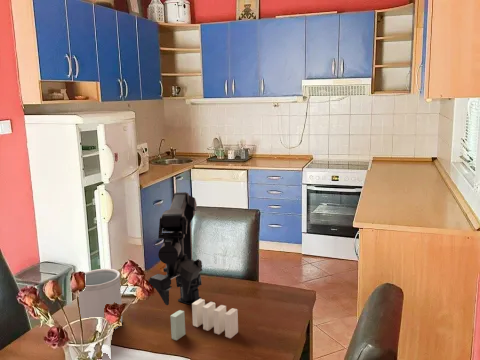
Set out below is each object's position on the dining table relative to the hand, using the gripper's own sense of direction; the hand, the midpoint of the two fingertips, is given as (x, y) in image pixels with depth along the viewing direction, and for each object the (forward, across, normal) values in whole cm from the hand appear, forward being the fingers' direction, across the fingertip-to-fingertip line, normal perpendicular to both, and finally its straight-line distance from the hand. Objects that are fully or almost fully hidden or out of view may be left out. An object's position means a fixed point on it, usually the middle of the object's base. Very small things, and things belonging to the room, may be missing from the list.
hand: (177, 299), depth 138 cm
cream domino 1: (+13, +10, 0) cm, 16 cm away
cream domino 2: (+13, +10, -5) cm, 17 cm away
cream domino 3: (+13, +10, -9) cm, 19 cm away
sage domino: (+13, 0, 0) cm, 13 cm away
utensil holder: (+13, -8, +28) cm, 32 cm away
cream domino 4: (+13, +10, -14) cm, 21 cm away
